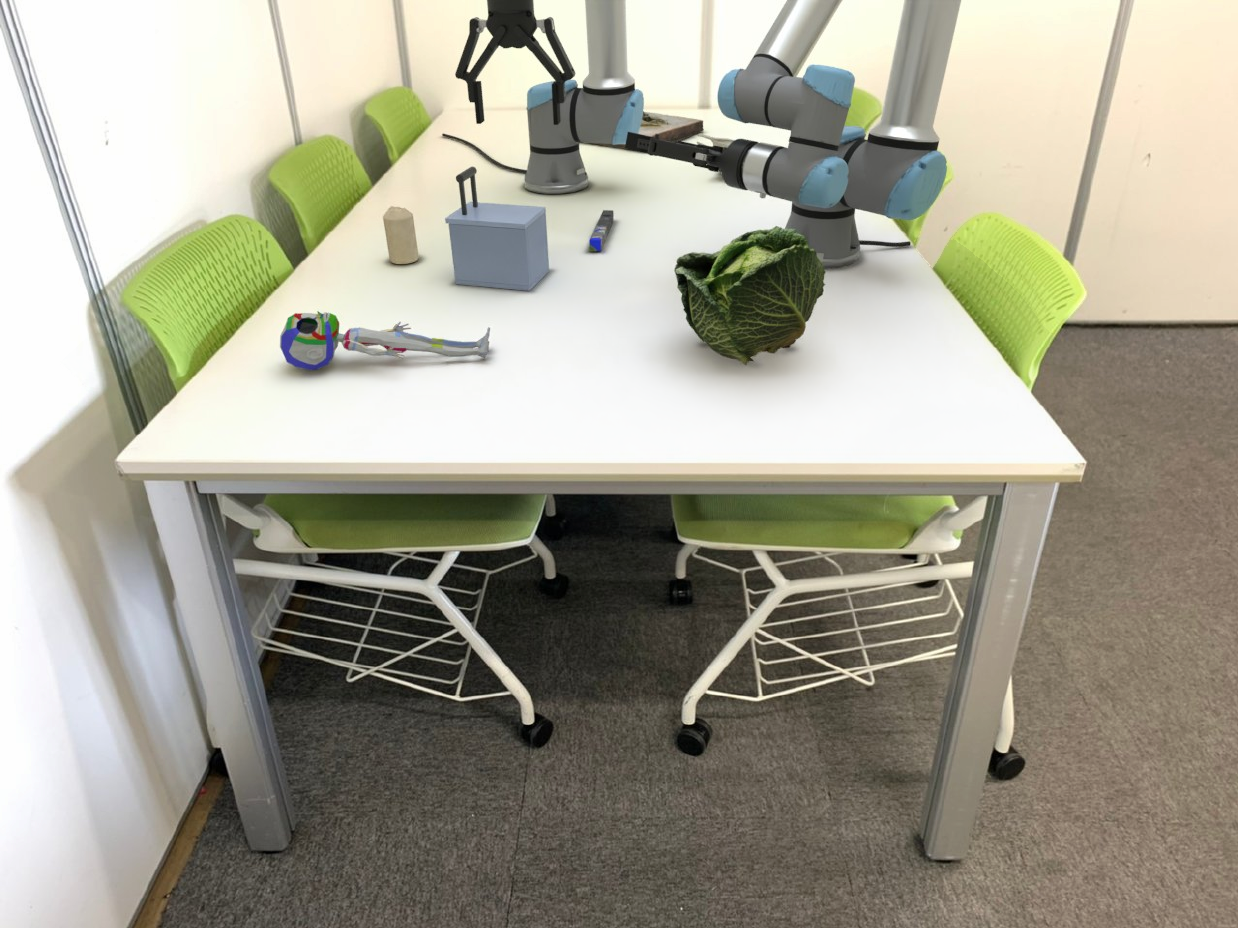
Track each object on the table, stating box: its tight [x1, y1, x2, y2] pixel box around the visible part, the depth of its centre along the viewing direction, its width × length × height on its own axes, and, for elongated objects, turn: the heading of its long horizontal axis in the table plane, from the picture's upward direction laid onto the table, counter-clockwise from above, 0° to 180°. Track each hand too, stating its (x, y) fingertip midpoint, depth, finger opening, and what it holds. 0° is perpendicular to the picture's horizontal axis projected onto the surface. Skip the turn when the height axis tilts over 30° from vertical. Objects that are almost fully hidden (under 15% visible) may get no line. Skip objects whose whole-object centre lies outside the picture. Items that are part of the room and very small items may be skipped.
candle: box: [382, 205, 420, 265], centre depth 169 cm, size 6×6×10 cm
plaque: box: [591, 110, 705, 149], centre depth 257 cm, size 30×7×30 cm
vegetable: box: [673, 225, 826, 366], centre depth 131 cm, size 20×19×20 cm
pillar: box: [588, 209, 615, 252], centre depth 182 cm, size 2×2×20 cm
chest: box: [448, 212, 550, 292], centre depth 161 cm, size 14×10×11 cm
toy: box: [279, 311, 491, 371], centre depth 133 cm, size 10×8×30 cm
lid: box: [444, 166, 547, 229], centre depth 156 cm, size 15×10×8 cm
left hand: (518, 123), depth 156 cm, fingers open, 13 cm apart
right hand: (653, 144), depth 155 cm, fingers open, 13 cm apart
